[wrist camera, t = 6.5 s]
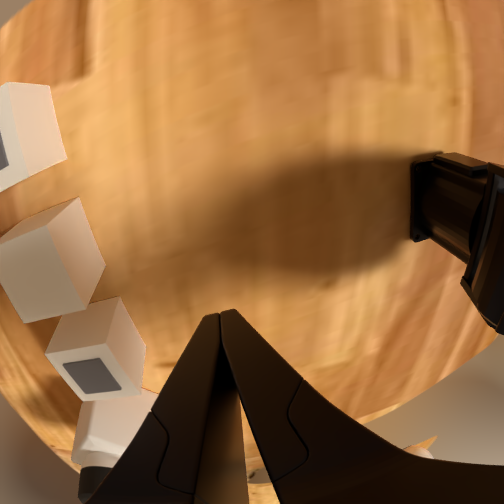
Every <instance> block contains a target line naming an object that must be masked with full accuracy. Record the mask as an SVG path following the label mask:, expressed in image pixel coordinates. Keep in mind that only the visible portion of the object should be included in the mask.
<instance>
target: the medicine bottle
mask: <svg viewBox="0 0 504 504" xmlns="http://www.w3.org/2000/svg"><path fill="white" fill-rule="evenodd" d="M158 395H159V394H157V393H154V392H151V391H149V390H146V389H144V388H142V391H141V395H136V396H129V397H121V398H113V399H104V400H94V401H83V403H82V405H81V409H80V413H79V418H78V423H77V428H76V433H75V438H74V444H73V450H72V456H71V460H72V461H73V462H74V463H77V464H79V465H81V472H80V481H79V491H78V498H79V499H80V501H81V502H82V503H83V504H84V503H85V502H86V501H87V500H88V499H89V498H90V497H91V496H92V495H93V493H94V492H95V491H96V489H97V488H98V487H99V485H100V484H101V483H102V481H103V480H104V479H105V477H106V476H107V475H108V473H109V472H110V471H111V469H112V468H113V466H114V465H115V464H116V462H117V461H118V460H119V458H120V457H121V455H122V454H123V453H124V451H125V450H126V448H127V447H128V445H129V444H130V442H131V441H132V440H133V438H134V436H135V435H136V433H137V431H138V430H139V428H140V426H141V425H142V423H143V421H144V419H145V418H146V416H147V414H148V412H150V411H151V407H152V406H153V404H154V402H155V400H156V399H157V397H158ZM151 412H152V411H151Z"/></svg>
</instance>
